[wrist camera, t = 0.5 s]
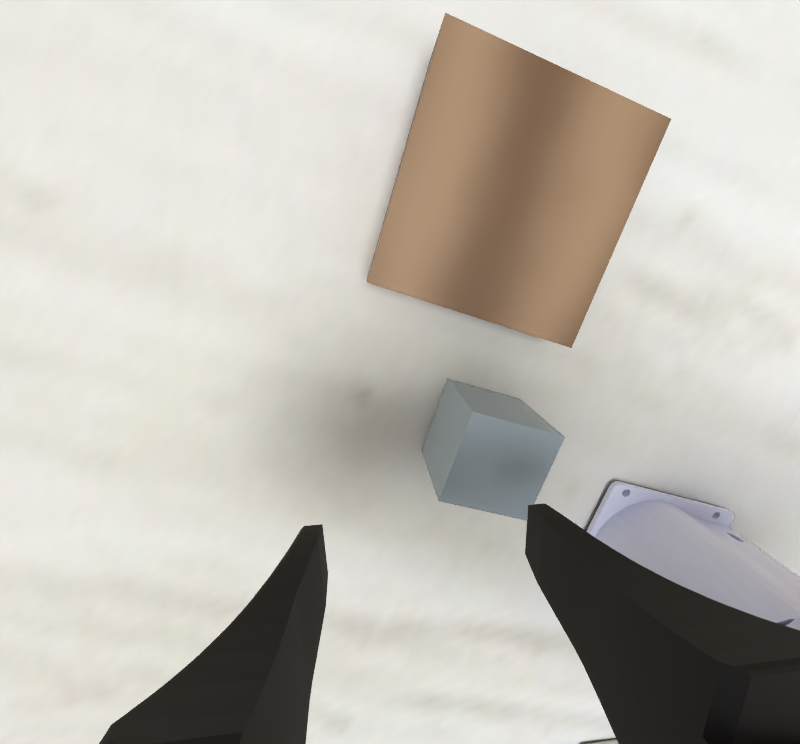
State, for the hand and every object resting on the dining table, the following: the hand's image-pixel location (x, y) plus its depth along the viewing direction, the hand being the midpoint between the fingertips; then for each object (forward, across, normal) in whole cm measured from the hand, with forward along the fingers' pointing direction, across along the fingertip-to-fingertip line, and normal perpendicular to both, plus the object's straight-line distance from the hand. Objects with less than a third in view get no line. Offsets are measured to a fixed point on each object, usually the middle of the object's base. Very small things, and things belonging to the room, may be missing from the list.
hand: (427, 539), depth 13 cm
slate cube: (+9, -4, 0) cm, 10 cm away
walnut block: (+9, -5, -12) cm, 15 cm away
